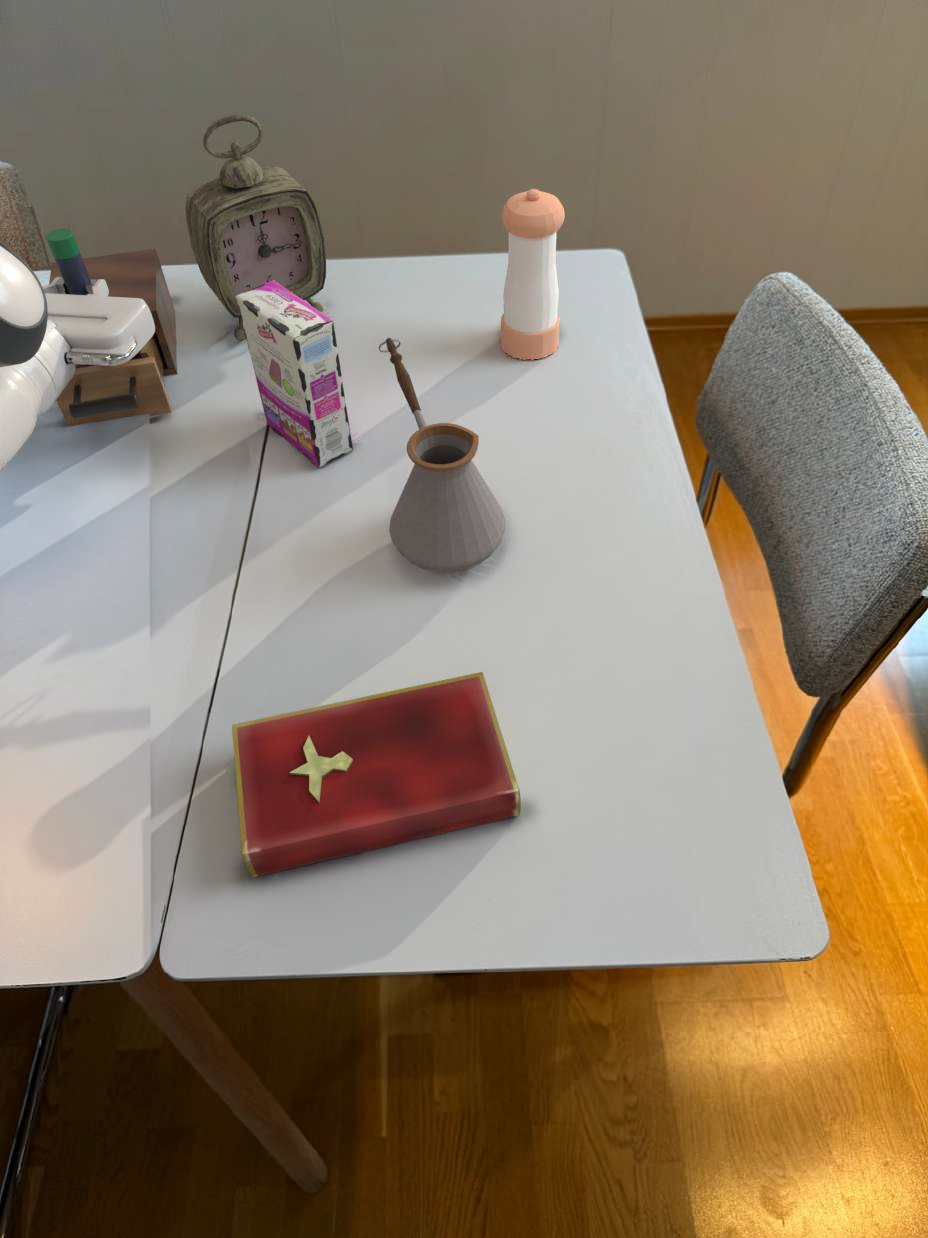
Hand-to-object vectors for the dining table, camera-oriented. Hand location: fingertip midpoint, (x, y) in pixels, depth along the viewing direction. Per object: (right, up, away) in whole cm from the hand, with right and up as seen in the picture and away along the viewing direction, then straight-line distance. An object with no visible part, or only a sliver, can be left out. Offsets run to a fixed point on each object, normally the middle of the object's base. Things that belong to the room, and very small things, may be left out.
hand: (83, 283), depth 97 cm
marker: (0, -6, +6) cm, 9 cm away
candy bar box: (+24, -16, +6) cm, 29 cm away
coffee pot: (+38, -25, -3) cm, 46 cm away
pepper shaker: (+49, -2, +16) cm, 52 cm away
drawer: (0, -10, +10) cm, 14 cm away
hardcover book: (+34, -50, -23) cm, 65 cm away
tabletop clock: (+16, +3, +22) cm, 27 cm away
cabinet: (-2, -2, +18) cm, 18 cm away
